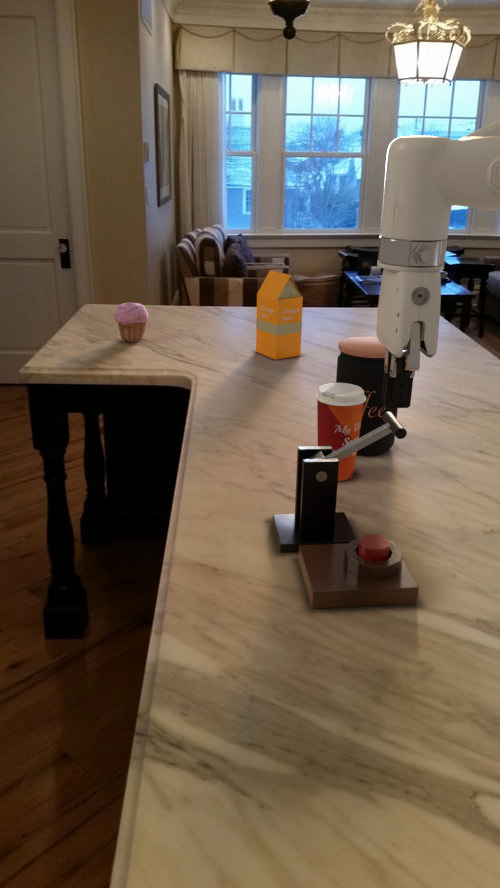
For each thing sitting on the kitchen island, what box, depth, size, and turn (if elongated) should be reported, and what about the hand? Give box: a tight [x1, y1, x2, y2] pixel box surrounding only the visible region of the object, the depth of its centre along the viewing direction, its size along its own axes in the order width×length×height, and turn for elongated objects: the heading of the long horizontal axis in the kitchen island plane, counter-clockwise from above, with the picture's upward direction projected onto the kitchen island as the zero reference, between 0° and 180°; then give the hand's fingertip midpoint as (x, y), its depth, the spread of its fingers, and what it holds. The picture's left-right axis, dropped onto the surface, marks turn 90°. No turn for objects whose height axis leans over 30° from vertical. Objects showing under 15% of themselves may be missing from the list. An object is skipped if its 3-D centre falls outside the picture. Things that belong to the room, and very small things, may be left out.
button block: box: [297, 537, 420, 609], centre depth 83 cm, size 12×10×4 cm
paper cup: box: [314, 382, 366, 482], centre depth 109 cm, size 8×8×14 cm
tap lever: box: [302, 412, 408, 463], centre depth 89 cm, size 13×6×2 cm, turn 94°
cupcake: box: [113, 301, 149, 343], centre depth 185 cm, size 9×9×10 cm
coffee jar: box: [335, 336, 399, 457], centre depth 119 cm, size 11×11×18 cm
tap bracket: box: [272, 445, 357, 553], centre depth 91 cm, size 10×8×12 cm
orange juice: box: [255, 269, 304, 361], centre depth 173 cm, size 8×9×20 cm
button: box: [358, 533, 391, 561], centre depth 82 cm, size 4×4×2 cm
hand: (395, 405), depth 87 cm, fingers closed
